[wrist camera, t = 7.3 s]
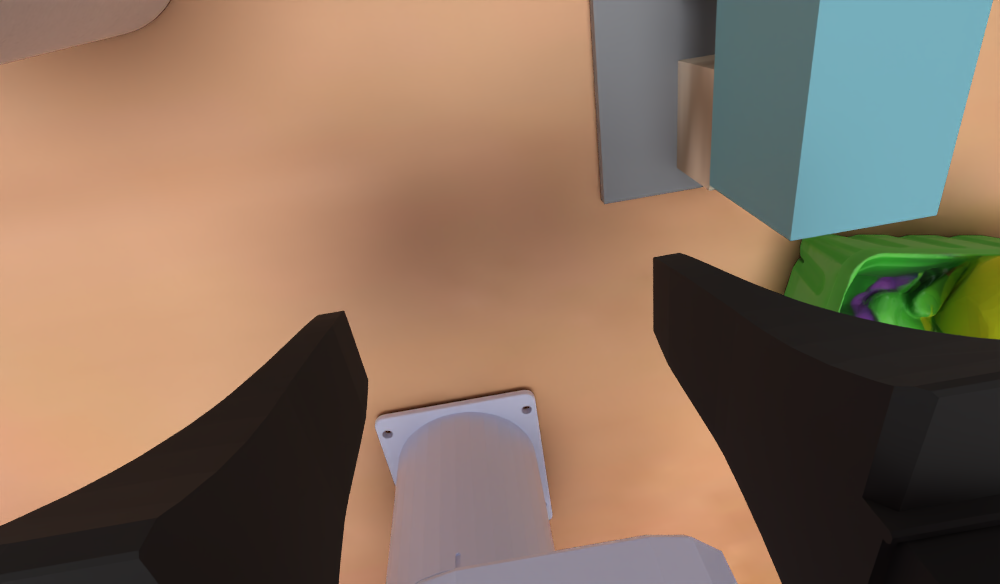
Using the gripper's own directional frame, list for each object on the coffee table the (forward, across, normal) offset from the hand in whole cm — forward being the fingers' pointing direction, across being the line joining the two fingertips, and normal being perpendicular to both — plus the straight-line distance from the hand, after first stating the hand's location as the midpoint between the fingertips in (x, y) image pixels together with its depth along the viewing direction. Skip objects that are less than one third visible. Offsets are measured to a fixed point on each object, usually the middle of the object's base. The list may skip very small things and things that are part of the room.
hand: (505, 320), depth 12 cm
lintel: (+7, -10, -5) cm, 13 cm away
